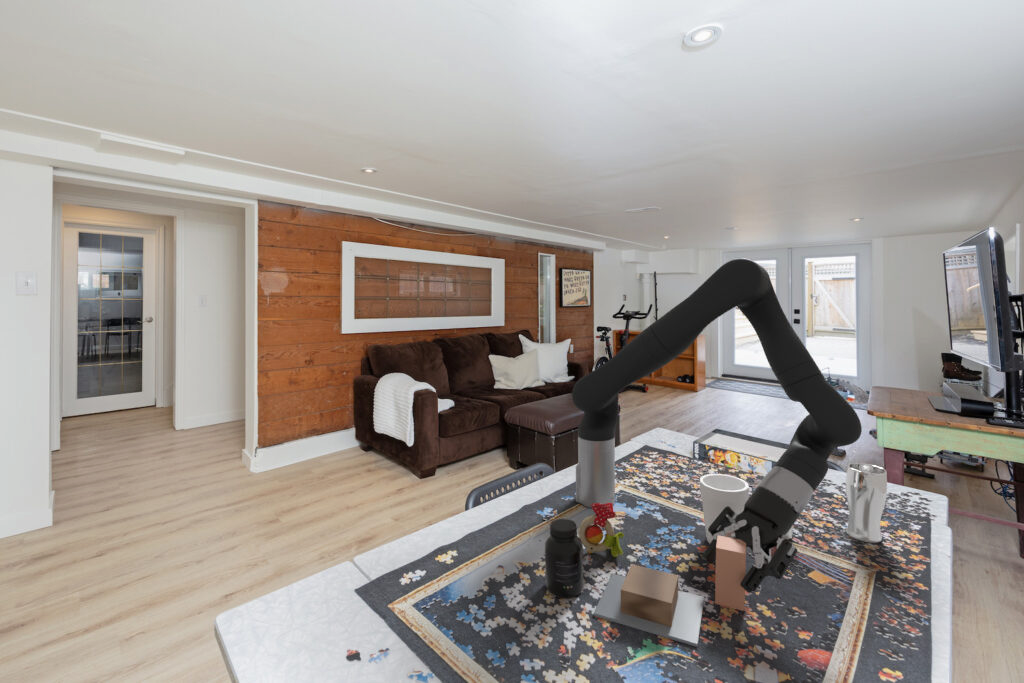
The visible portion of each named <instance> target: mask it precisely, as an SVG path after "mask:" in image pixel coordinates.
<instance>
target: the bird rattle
mask: <svg viewBox="0 0 1024 683" xmlns="http://www.w3.org/2000/svg"><path fill="white" fill-rule="evenodd" d="M591 507H592V508H591ZM591 507H590V508H591V509H592V510H593V513H594V515H589V516H587V517H585V518H584V519H583V520H582V521H581V523H580V525H579V527H578V528H579V529H578V537H579V538H580V540H581V541H582V544H583V547H585V549H586V550H587V553H588V554H593V553H601V552H604V551H606V550H607V549H610V553H611V556H612V557H614V558H617V557H618V556H622V555H623V554H624V552H623V550H622V548H621V546H620V538H624V537H625V535H624V533H623V532H620V531H619V532H617V533H615V530H614V528H613V525H612V523H611V522H610V521H609V519H612V518H615V517H616V513H617V512H616V511H614V504H612V503H606V504H601V503H597V504H595V503H593V504H592V505H591ZM602 528H603V529H602ZM604 531H605V532H606V533H605V534H604Z"/></svg>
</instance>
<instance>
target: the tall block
mask: <svg viewBox="0 0 1024 683" xmlns="http://www.w3.org/2000/svg"><path fill="white" fill-rule="evenodd" d="M746 566H747V547H746V543H745V542H743V541H742V540H739V539H734V538H729V537H724V536H719V535H718V536H717V544H716V561H715V580H714V581H715V588H714V590H715V591H714V592H715V593H714V604H715V605H718V606H719V605H720V606H723V607H727V608H731V609H733V610H734V609H735V610H739V611H742V612H745V610H746V606H745V605H746V590H745V589H744V588H743V587H742V586H741V585H740V583H741V581H742V580H743V579H744V577H745V576H746V574H747V573H746V571H747V570H746V568H747V567H746Z"/></svg>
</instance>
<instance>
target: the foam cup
mask: <svg viewBox="0 0 1024 683" xmlns="http://www.w3.org/2000/svg"><path fill="white" fill-rule="evenodd" d="M699 492H700V497H701V503H702V513H703V520H704V528H705V529H704V530H705V535H706V541H707V542H708V543H709V544H710V543H711V542H712V540H713V536H712V535H711V533H710V532H709V531H708V528H709V527H710V525H711V524H712V523H713V522H714V521H715V519H716V518H717V517H718V516H719V514H720V513H721V512H722V511H723V510H724V508H725V507H727V506H728V507H730V508H731V509H732V510H733V511H734V512H735V513H737V514H740V513H742V512H743V511H744V505H745V503H746V501H747V500H748V499H749V497H750V487H749V483H748V482H746V481H745V480H744V479H741V478H739V477H737V476H734V475H733V476H732V475H728V474H724V473H721V474H720V473H719V474H718V473H717V474H716V473H711V474H704V475H703V476H701V477H700V478H699ZM732 525H733V523H732ZM720 526H721V525H720ZM720 526H719V527H720ZM719 527H718V529H719ZM718 529H717V530H718ZM733 534H734V535H735V533H733Z"/></svg>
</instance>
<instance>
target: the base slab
mask: <svg viewBox="0 0 1024 683" xmlns="http://www.w3.org/2000/svg"><path fill="white" fill-rule="evenodd" d="M625 577H626V578H625V581H624V583H623V585H622V588H621V613H624V614H628V615H631V616H635V617H638V618H641V619H645V620H648V621H652V622H655V623H659V624H662V625H666V626H669V627H672V622H673V618H674V614H675V609H676V605H677V600H678V590H679V575H677V574H675V573H674V574H673V573H669V572H665V571H661V570H657V569H653V568H650V567H645V566H641V565H637V564H632V563H631V564H630V567H629V570H628V571H627V574H626V576H625Z"/></svg>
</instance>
